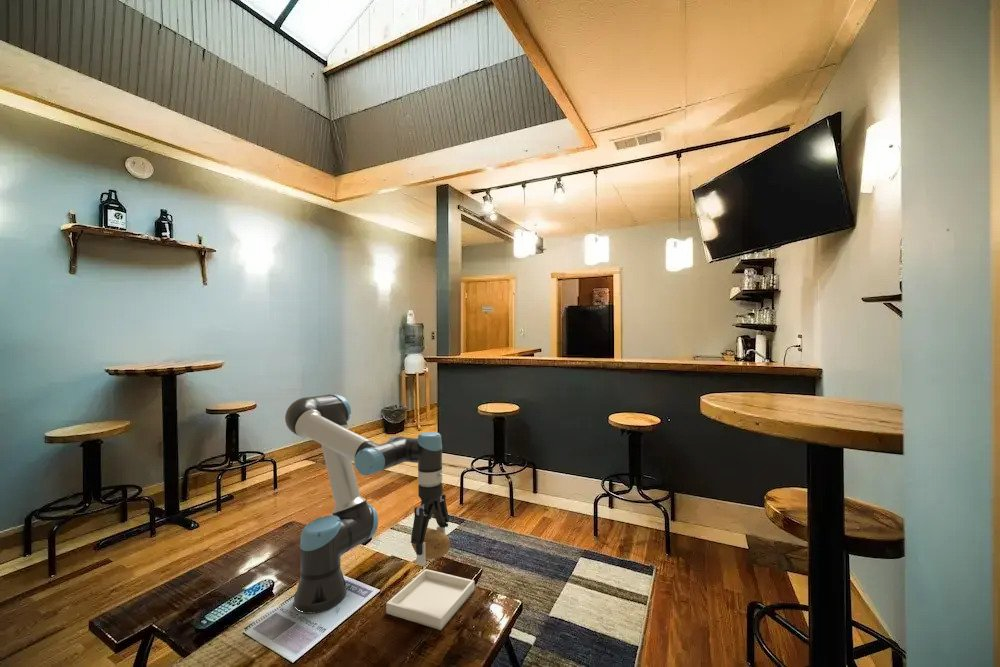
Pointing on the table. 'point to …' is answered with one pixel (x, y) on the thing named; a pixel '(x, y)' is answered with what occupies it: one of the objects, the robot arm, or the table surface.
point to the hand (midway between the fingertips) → (431, 556)
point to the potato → (435, 543)
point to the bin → (431, 598)
